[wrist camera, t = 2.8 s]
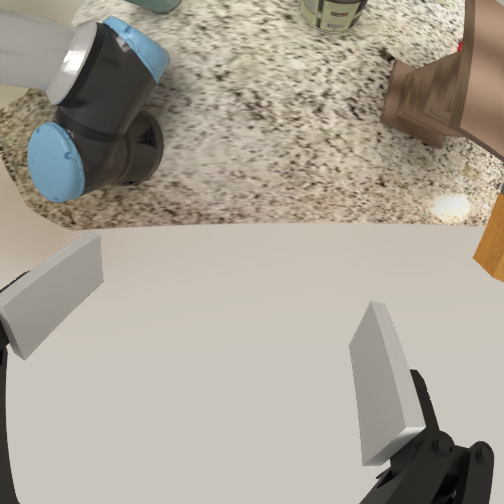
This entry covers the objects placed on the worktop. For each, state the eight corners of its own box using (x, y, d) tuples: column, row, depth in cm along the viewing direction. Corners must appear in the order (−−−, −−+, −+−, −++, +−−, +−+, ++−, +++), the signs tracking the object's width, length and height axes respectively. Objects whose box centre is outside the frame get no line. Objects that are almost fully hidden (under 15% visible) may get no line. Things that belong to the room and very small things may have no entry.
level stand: (448, 163, 41) (564, 210, 14) (369, 126, 42) (459, 127, 15) (465, 93, 35) (581, 88, 8) (387, 52, 35) (474, -15, 8)
